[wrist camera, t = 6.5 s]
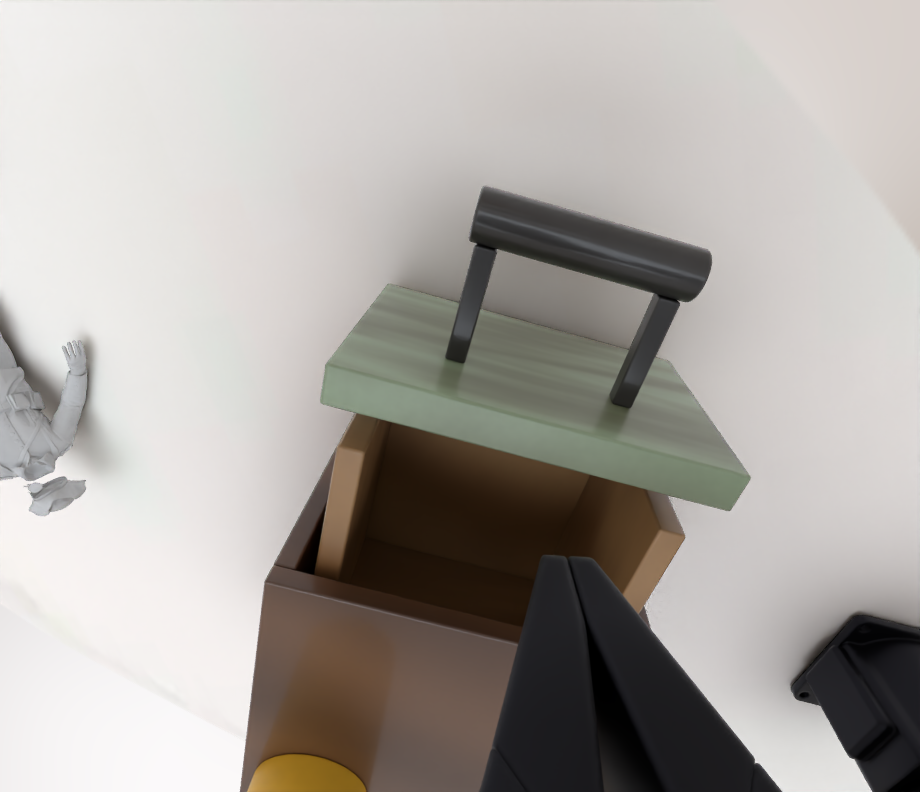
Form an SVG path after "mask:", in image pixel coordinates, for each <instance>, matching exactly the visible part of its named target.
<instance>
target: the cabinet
mask: <svg viewBox="0 0 920 792" xmlns="http://www.w3.org/2000/svg"><path fill="white" fill-rule="evenodd" d="M346 429H347V428H346ZM345 431H346V430H345ZM337 446H338V445H337ZM336 449H337V447H336ZM336 449H335V451H334V453H333V455H332V457H331V458H330V460H329V462H328V464H327V466H326V468H325V470H324V472H323V473H322V475H321V477H320V479H319V481H318V483H317V485H316V486H315V488H314V490H313V492H312V494H311V496H310V498H309V500H308V501H307V503H306V505H305V507H304V509H303V511H302V513H301V514H300V516H299V518H298V520H297V522H296V524H295V526H294V527H293V529H292V531H291V533H290V535H289V537H288V539H287V541H286V542H285V544H284V546H283V548H282V550H281V552H280V554H279V555H278V557H277V559H276V561H275V563H274V566H273V567H272V568H271V570H270V572H269V574H268V576H267V578H266V580H265V582H264V591H263V599H262V608H261V617H260V625H259V634H258V642H257V651H256V659H255V668H254V676H253V685H252V693H251V702H250V710H249V719H248V727H247V736H246V745H245V753H244V761H243V770H242V778H241V787H240V792H247V791H248V788H249V786H250V783H251V780H252V778H253V775H254V773H255V771H256V769H257V768H258V767H259V765H260V764H261V763H263V762H264V761H266V760H268V759H269V758H272V757H275V756H279V755H285V754H305V755H312V756H317V757H321V758H325V759H328V760H331V761H333V762H336V763H338V764H340V765H342V766H344V767H346V768H347V769H349V770H350V771H352V772H353V773H354V774H355V775H356V776H357V777H358V778H359V779H360V780H361V781H362V783H363V784H364V786H365V788H366V792H479V790H480V787H481V784H482V780H483V776H484V773H485V769H486V765H487V761H488V757H489V753H490V751H491V749H492V743H493V739H494V735H495V732H496V728H497V724H498V720H499V716H500V712H501V708H502V705H503V701H504V697H505V693H506V689H507V685H508V682H509V678H510V674H511V670H512V666H513V662H514V658H515V655H516V651H517V647H518V643H519V639H520V635H521V632H522V628H523V627H520V626H516V625H512V624H508V623H504V622H500V621H496V620H492V619H488V618H484V617H480V616H476V615H472V614H468V613H464V612H460V611H456V610H452V609H448V608H444V607H440V606H436V605H432V604H428V603H424V602H420V601H416V600H412V599H408V598H404V597H400V596H396V595H392V594H388V593H384V592H380V591H376V590H372V589H368V588H364V587H360V586H356V585H352V584H348V583H343V582H339V581H335V580H331V579H327V578H323V577H319V576H315V575H314V573H315V567H316V562H317V556H318V551H319V545H320V539H321V534H322V528H323V522H324V517H325V511H326V506H327V500H328V494H329V489H330V483H331V477H332V472H333V466H334V461H335V455H336ZM639 616H640V617H641V618H642V619H643V620H644V622H645V623H646V624H647V625H648V627H649V628H650V624H649V621H648V617H647V614H646V611H645V607H644V606H643V608H642V610H641V611H640V613H639ZM650 629H651V628H650Z"/></svg>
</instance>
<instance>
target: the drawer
mask: <svg viewBox="0 0 920 792" xmlns="http://www.w3.org/2000/svg"><path fill="white" fill-rule="evenodd" d="M469 241H471V242H474V243H475V246H474V250H473V254H472V257H471V261H470V265H469V269H468V272H467V276H466V280H465V284H464V287H463V291H462V295H461V298H460V302H459V303H458V302H454V301H450V300H447V299H443V298H440V297H436V296H432V295H429V294H425V293H422V292H418V291H414V290H411V289H407V288H403V287H400V286H396V285H393V284H387V286H386V287H385V288H384V290H383V291H382V292H381V294H380V295H379V296H378V297H377V299H376V300H375V301H374V303H373V304H372V305H371V306H370V308H369V309H368V310H367V312H366V313H365V314H364V316H363V317H362V318H361V319H360V321H359V322H358V323H357V325H356V326H355V327H354V329H353V330H352V331H351V332H350V334H349V335H348V336H347V338H346V339H345V340H344V341H343V343H342V344H341V345H340V347H339V348H338V349H337V351H336V352H335V353H334V354H333V356H332V357H331V358H330V360H329V361H328V362H327V364H326V365H325V372H324V378H323V385H322V392H321V398H320V402H321V403H322V404H324V405H328V406H332V407H335V408H339V409H343V410H347V411H350V412H354V413H355V414H354V416H353V418H352V419H351V421H350V423H349V425H348V427H347V429H346V431H345V432H344V434H343V436H342V438H341V440H340V442H339V444H338V446H337V449H336V455H335V461H334V466H333V472H332V477H331V483H330V489H329V494H328V500H327V506H326V511H325V517H324V522H323V528H322V534H321V539H320V545H319V551H318V556H317V562H316V567H315V573H314V575H315V576H319V577H323V578H327V579H331V580H335V581H339V582H343V583H348V584H352V585H356V586H360V587H364V588H368V589H372V590H376V591H380V592H384V593H388V594H392V595H396V596H400V597H404V598H408V599H412V600H416V601H420V602H424V603H428V604H432V605H436V606H440V607H444V608H448V609H452V610H456V611H460V612H464V613H468V614H472V615H476V616H480V617H484V618H488V619H492V620H496V621H500V622H504V623H508V624H512V625H516V626H520V627H523V624H524V620H525V616H526V612H527V608H528V605H529V601H530V597H531V593H532V589H533V585H534V582H535V578H536V574H537V570H538V566H539V562H540V559H541V557H542V556H543V555H559V556H564V557H566V558H568V557H570V556H577V557H590V558H592V559H594V560H595V561H596V562H597V564H598V565H599V566H600V567H601V568H602V570H603V571H604V572H605V573H606V575H607V576H608V577H609V578H610V580H611V581H612V582H613V583H614V585H615V586H616V587H617V588H618V590H619V591H620V592H621V593H622V594H623V596H624V597H625V598H626V599H627V601H628V602H629V603H630V604H631V606H632V607H633V608H634V609H635V611H636V612H637V613H638V614H639V613H640V611H641V610H642V608H643V606H644V605H645V603H646V601H647V600H648V598H649V596H650V595H651V593H652V592H653V590H654V588H655V587H656V585H657V583H658V582H659V580H660V578H661V577H662V575H663V573H664V572H665V570H666V568H667V567H668V565H669V564H670V562H671V560H672V559H673V557H674V555H675V554H676V552H677V550H678V549H679V547H680V545H681V544H682V542H683V541H684V539H685V534H684V531H683V529H682V527H681V525H680V522H679V520H678V518H677V516H676V513H675V511H674V509H673V507H672V504H671V502H670V500H669V498H668V495H669V496H672V497H676V498H680V499H684V500H688V501H691V502H695V503H699V504H703V505H707V506H710V507H714V508H718V509H722V510H725V511H730V510H731V509H732V507H733V506H734V504H735V503H736V501H737V500H738V498H739V496H740V495H741V493H742V492H743V490H744V489H745V487H746V486H747V484H748V482H749V481H750V478H751V477H750V475H749V474H748V472H747V471H746V469H745V468H744V466H743V465H742V464H741V462H740V461H739V459H738V458H737V457H736V455H735V454H734V452H733V451H732V449H731V448H730V447H729V445H728V444H727V442H726V441H725V440H724V438H723V437H722V435H721V434H720V432H719V431H718V430H717V428H716V427H715V425H714V424H713V423H712V421H711V420H710V418H709V417H708V416H707V414H706V413H705V411H704V410H703V408H702V407H701V406H700V404H699V403H698V401H697V400H696V399H695V397H694V396H693V394H692V393H691V391H690V390H689V389H688V387H687V386H686V384H685V383H684V382H683V380H682V379H681V377H680V376H679V374H678V373H677V372H676V370H675V369H674V367H673V366H672V365H671V363H670V362H669V361H668V360H664V359H660V358H657V357H656V354H657V352H658V350H659V348H660V346H661V344H662V342H663V340H664V337H665V335H666V333H667V331H668V329H669V327H670V325H671V323H672V320H673V318H674V316H675V314H676V312H677V310H678V308H679V306H680V303H679V302H678V301H677V300H679V301H683V302H690V301H692V300H694V299H695V298H696V297H697V296H698V294H699V293H700V292H701V290H702V289H703V287H704V285H705V283H706V281H707V279H708V276H709V273H710V270H711V265H712V255H711V253H710V251H708V250H707V249H705V248H701V247H698V246H694V245H691V244H687V243H684V242H680V241H677V240H673V239H670V238H666V237H663V236H659V235H656V234H652V233H649V232H645V231H642V230H639V229H635V228H632V227H628V226H625V225H621V224H618V223H614V222H611V221H607V220H604V219H600V218H597V217H593V216H590V215H586V214H583V213H579V212H576V211H572V210H569V209H566V208H562V207H559V206H555V205H552V204H548V203H545V202H541V201H538V200H534V199H531V198H527V197H524V196H520V195H517V194H513V193H510V192H506V191H503V190H499V189H496V188H493V187H489V186H483V187H482V189H481V192H480V196H479V199H478V203H477V207H476V210H475V214H474V218H473V222H472V226H471V230H470V234H469ZM497 249H498V250H502V251H505V252H509V253H512V254H516V255H520V256H523V257H527V258H530V259H534V260H537V261H541V262H544V263H548V264H551V265H555V266H559V267H562V268H566V269H569V270H573V271H576V272H580V273H583V274H587V275H590V276H594V277H598V278H601V279H605V280H608V281H612V282H615V283H619V284H622V285H626V286H629V287H633V288H637V289H640V290H644V291H647V292H651V293H654V295H653V297H652V299H651V302H650V304H649V306H648V308H647V311H646V313H645V315H644V317H643V320H642V322H641V324H640V327H639V329H638V331H637V333H636V336H635V338H634V340H633V342H632V345H631V347H630V349H629V350H628V349H624V348H621V347H617V346H613V345H610V344H606V343H602V342H599V341H595V340H592V339H588V338H584V337H581V336H577V335H574V334H570V333H566V332H563V331H559V330H555V329H552V328H548V327H545V326H541V325H537V324H534V323H530V322H526V321H523V320H519V319H516V318H512V317H508V316H505V315H501V314H498V313H494V312H490V311H487V310H483V309H481V306H482V302H483V299H484V295H485V292H486V289H487V285H488V282H489V278H490V275H491V271H492V268H493V264H494V261H495V257H496V254H497Z"/></svg>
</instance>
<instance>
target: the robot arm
mask: <svg viewBox="0 0 920 792" xmlns="http://www.w3.org/2000/svg"><path fill="white" fill-rule="evenodd" d="M791 691H792V693H793V695H794V697H795V698H796V699H797V700H799V701H803V702H807V703H811V704H815V705H819V706H821V707H822V709H823V711H824V713H825V715H826V717H827V718H828V720H829V722H830V724H831V726H832V728H833V729H834V731H835V733H836V735H837V737H838V739H839V740H840V742H841V744H842V746H843V748H844V750H845V751H846V753H847V755H848V756H849V757H850V758H852V759H855V761H856V763H857V765H858V767H859V768H860V770H861V772H862V774H863V776H864V777H865V779H866V781H867V783H868V785H869V787H870V788H871V790H872V792H920V629H917V628H913V627H909V626H905V625H901V624H897V623H894V622H890V621H886V620H882V619H878V618H874V617H870V616H866V615H859V616H856V617H854V618H853V619H851V620H850V621H849V623H848V624H847V625H846V626H845V627H844V628H843V629H842V630H841V632H840V633H839V634H838V635H837V636H836V637H835V638H834V639H833V641H832V642H831V643H830V644H829V645H828V646H827V647H826V648H825V650H824V651H823V652H822V653H821V654H820V655H819V656H818V657H817V658H816V660H815V661H814V662H813V663H812V664H811V665H810V666H809V667H808V669H807V670H806V671H805V672H804V673H803V674H802V675H801V676H800V678H799V679H798V680H797V681H796V682H795V683H794V684H793V685H792V687H791ZM754 763H755V759H754V757H753V755H752V754H751V753H750V752H749V750H748V749H747V748H746V747H745V746H744V744H743V743H742V742H741V741H740V739H739V738H738V737H737V736H736V734H735V733H734V732H733V731H732V729H731V728H730V727H729V726H728V724H727V723H726V722H725V721H724V720H723V718H722V717H721V716H720V715H719V713H718V712H717V711H716V710H715V708H714V707H713V706H712V705H711V703H710V702H709V701H708V700H707V698H706V697H705V696H704V695H703V694H702V692H701V691H700V690H699V689H698V687H697V686H696V685H695V684H694V682H693V681H692V680H691V679H690V677H689V676H688V675H687V674H686V672H685V671H684V670H683V669H682V668H681V666H680V665H679V664H678V663H677V661H676V660H675V659H674V658H673V656H672V655H671V654H670V653H669V651H668V650H667V649H666V648H665V646H664V645H663V644H662V643H661V642H660V640H659V639H658V638H657V637H656V635H655V634H654V633H653V632H652V630H651V629H650V628H649V627H648V625H647V624H646V623H645V622H644V620H643V619H642V618H641V617H640V616H639V614H638V613H637V612H636V611H635V609H634V608H633V607H632V606H631V604H630V603H629V602H628V601H627V599H626V598H625V597H624V596H623V594H622V593H621V592H620V591H619V590H618V588H617V587H616V586H615V585H614V583H613V582H612V581H611V580H610V578H609V577H608V576H607V575H606V573H605V572H604V571H603V570H602V568H601V567H600V566H599V565H598V564H597V562H596V561H595V560H594V559H592V558H590V557H577V556H570V557H568V558H566V557H564V556H559V555H543V556H542V557H541V559H540V562H539V566H538V570H537V574H536V578H535V582H534V585H533V589H532V593H531V597H530V601H529V605H528V608H527V612H526V616H525V620H524V624H523V628H522V632H521V635H520V639H519V643H518V647H517V651H516V655H515V658H514V662H513V666H512V670H511V674H510V678H509V682H508V685H507V689H506V693H505V697H504V701H503V705H502V708H501V712H500V716H499V720H498V724H497V728H496V732H495V735H494V739H493V743H492V749H491V751H490V753H489V757H488V761H487V765H486V769H485V773H484V776H483V780H482V784H481V787H480V790H479V792H782V791H781V790H780V788H779V787H778V786H777V785H776V784H775V782H774V781H773V780H772V779H771V777H770V776H769V775H768V774H767V772H766V771H765V770H764V769H763V767H762V766H761V765H760V764H758V763H755V764H754Z"/></svg>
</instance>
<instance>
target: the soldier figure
mask: <svg viewBox="0 0 920 792" xmlns="http://www.w3.org/2000/svg"><path fill="white" fill-rule="evenodd" d="M72 343H73V346H74V349H75V353H76V355H75V354H74V351H73V348H72V345H71V343H70V342H68V343H67V345H68V349H69V352H70V356H69V354H68V352H67V349H66V347H65V346H62V349H63V352H64V354H65V357H66V360H67V363H68V366H69V368H70V371H69V372H68V374H67V379H66V382H65V386H64V389H63V390H62V394H61V401H60V405H59V407H58V409H57V411H56V412H55V414H54V416H53V420H52V421H51V423H50V421H49V420H48V419H47V418H46V417H45V416H44V414H43V413H42V412H41V410H42V409H45V405H44V403H43V400H42V397H41V395H40V392H35V391H33V390H32V388H31V387H30V386H29V384H28V383H27V382H26V381H25V380H24V371H23V369H22V368H21V367H20V366H17V365H16V361H15V358H14V356H13V354H12V352H11V350H10V348H9V347H8V345H7V344H6V342H5V341H4V339H3V337H2V335H1V332H0V480H5V479H13V477H21V478H23V479H25V480H26V481H34V480H36V479H38V478H40V477H42V476H44V475H46V474H49V473H51V472H53V471H54V470H55V461H56V460H57V458H58V457H59V456H62V455H63V454H64V453H65V452H66V451H68V450H69V449H70V448H71V447H72V446H73V445H72V443H73V441H74V437H75V433H76V430H77V425H78V421H79V419H80V417H81V411H82V408H83V405H84V403H85V400H86V391H87V373H88V371H87V369H86V359H87V358H86V355H85V351H84V347H83V345H82V342H81V341H80V340H78V345H79V346H77V343H76V341H75V340H74V341H72ZM85 481H86V480H82V481H71V480H67V478H66V477H59V478H56V479H53V480H51V481H49V482H47V483H45V484H40V483H33V484H28V485H29V487H28V486H24V487H28V490H29V491H30V492H31V493H30V492H29V493H30V494H31V496H32V498H33V502H32V505H31V506H30V508H29V511H31V512H33V513H34V514H36V515H38V516H46V515H48V514H49V513H50V512H54V511H58V510H61V509H63V508H65V507H67V506H68V505H70V504H71V503H72V502H73V500H74V499H77V498H79V497H80V496H81V495H82V494H83V493H84V492H85V490H86V487H85Z"/></svg>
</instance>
